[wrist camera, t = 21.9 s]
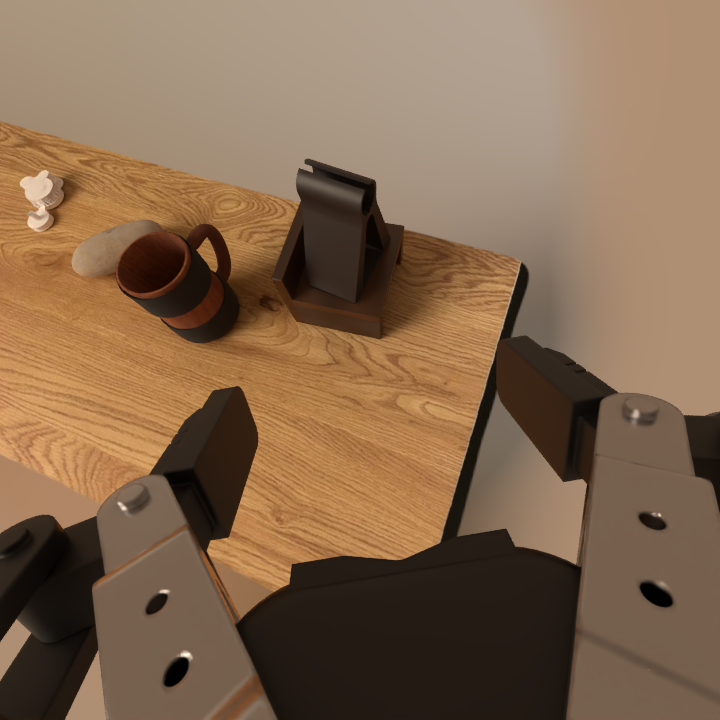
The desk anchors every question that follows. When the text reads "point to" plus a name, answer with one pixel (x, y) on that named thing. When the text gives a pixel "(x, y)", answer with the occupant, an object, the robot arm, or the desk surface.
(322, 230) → the phone stand
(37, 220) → the white rounded lumpy shapes
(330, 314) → the shelf
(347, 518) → the desk surface
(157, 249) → the mug
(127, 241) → the stone
